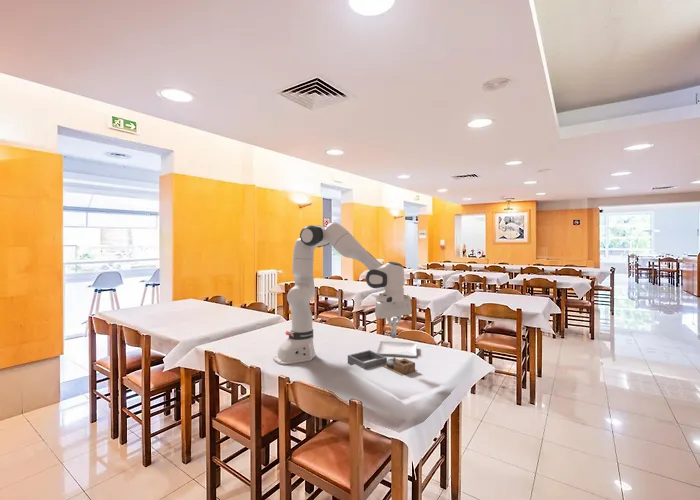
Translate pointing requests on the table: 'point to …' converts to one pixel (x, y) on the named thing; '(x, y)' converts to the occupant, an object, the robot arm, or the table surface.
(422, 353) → the table surface
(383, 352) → the salad plate
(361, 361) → the tray
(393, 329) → the lock pin
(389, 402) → the table surface
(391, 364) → the pulley bracket
